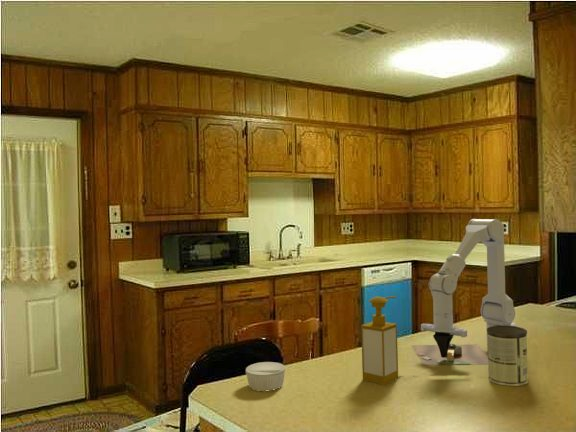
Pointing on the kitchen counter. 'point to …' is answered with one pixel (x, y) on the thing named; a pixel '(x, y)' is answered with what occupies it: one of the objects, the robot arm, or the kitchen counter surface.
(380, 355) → the soap bottle
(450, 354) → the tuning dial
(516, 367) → the coffee can
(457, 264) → the robot arm
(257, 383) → the ramekin
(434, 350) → the brown flat square slab
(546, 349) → the kitchen counter surface
